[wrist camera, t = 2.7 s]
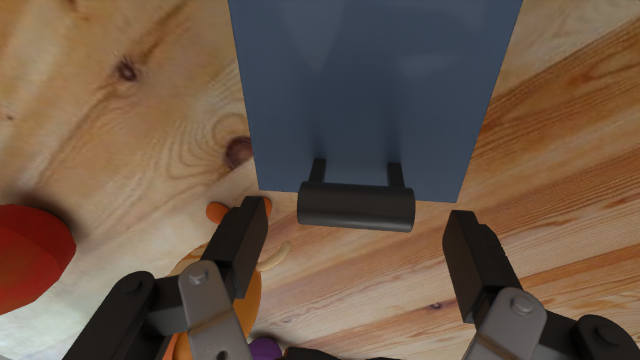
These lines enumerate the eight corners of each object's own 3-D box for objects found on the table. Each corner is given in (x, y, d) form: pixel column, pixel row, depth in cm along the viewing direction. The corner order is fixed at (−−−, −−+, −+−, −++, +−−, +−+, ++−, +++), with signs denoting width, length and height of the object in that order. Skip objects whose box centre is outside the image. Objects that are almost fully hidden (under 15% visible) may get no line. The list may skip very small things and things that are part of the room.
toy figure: (290, 183, 27) (231, 356, 15) (311, 242, 32) (279, 414, 20) (179, 197, 30) (55, 353, 18) (213, 250, 34) (132, 405, 22)
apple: (98, 217, 33) (-4, 315, 24) (89, 262, 39) (2, 355, 30) (0, 172, 31) (-155, 261, 22) (5, 226, 37) (-117, 316, 27)
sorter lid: (452, 194, 18) (480, 266, 13) (262, 183, 19) (233, 245, 15) (570, -174, 9) (742, -289, 5) (210, -153, 10) (106, -231, 6)
